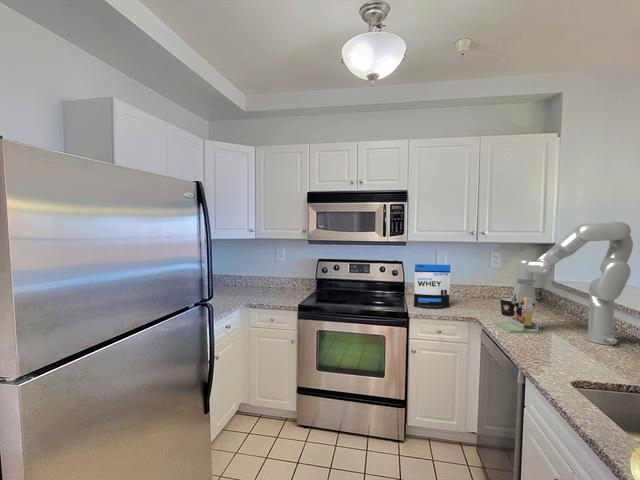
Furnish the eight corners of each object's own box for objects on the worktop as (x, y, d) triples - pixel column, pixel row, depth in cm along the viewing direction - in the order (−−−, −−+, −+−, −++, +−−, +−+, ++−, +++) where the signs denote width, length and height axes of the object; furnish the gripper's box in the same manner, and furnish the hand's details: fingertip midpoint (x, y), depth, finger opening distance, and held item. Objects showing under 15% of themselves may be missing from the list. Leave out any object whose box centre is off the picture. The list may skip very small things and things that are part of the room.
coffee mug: (496, 313, 216) (497, 298, 215) (505, 312, 219) (506, 297, 219) (513, 318, 205) (513, 302, 205) (522, 317, 209) (523, 301, 208)
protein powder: (412, 305, 236) (413, 263, 234) (446, 306, 235) (448, 264, 233) (415, 308, 226) (416, 265, 225) (451, 309, 225) (453, 265, 224)
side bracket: (537, 330, 177) (538, 324, 177) (522, 330, 177) (522, 324, 177) (523, 323, 190) (523, 317, 190) (508, 323, 190) (509, 317, 190)
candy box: (514, 320, 188) (515, 294, 187) (521, 321, 188) (523, 294, 187) (524, 325, 179) (525, 297, 178) (531, 325, 179) (533, 298, 178)
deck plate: (541, 333, 177) (541, 330, 177) (509, 333, 177) (510, 330, 177) (523, 324, 193) (523, 321, 193) (494, 323, 193) (494, 321, 193)
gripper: (535, 281, 186) (534, 313, 187) (505, 280, 186) (504, 312, 187) (544, 283, 178) (543, 317, 179) (513, 283, 178) (512, 316, 179)
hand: (523, 314), depth 183 cm, fingers closed on candy box, 4 cm apart
